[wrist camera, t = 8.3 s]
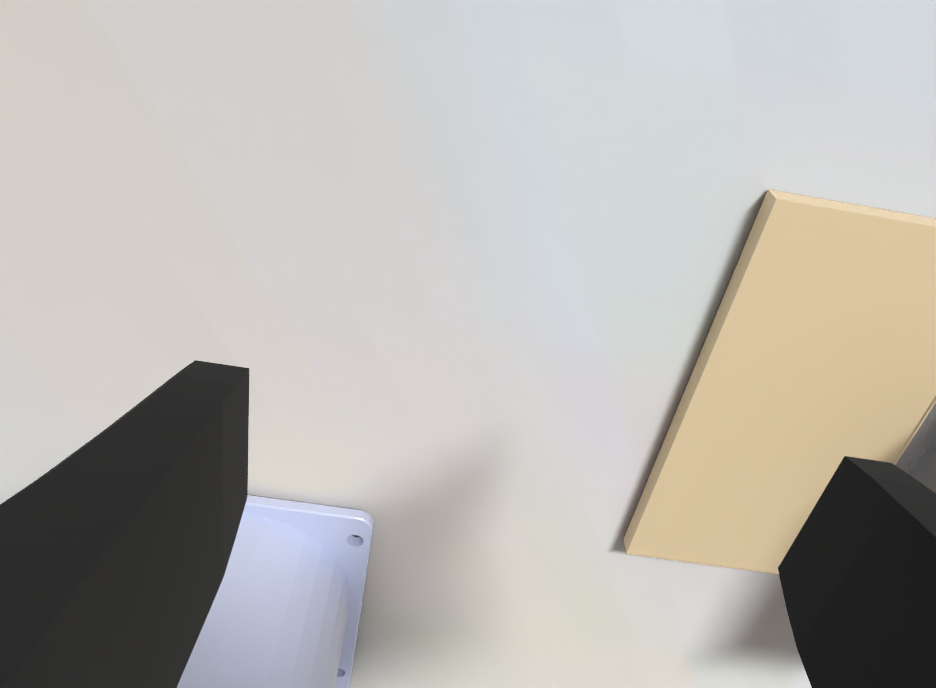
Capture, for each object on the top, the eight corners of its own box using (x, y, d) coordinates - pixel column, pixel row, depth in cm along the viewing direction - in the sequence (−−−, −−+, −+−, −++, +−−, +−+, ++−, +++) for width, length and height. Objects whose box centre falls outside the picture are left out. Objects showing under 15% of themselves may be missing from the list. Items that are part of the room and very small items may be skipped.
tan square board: (1023, 592, 25) (1035, 608, 24) (623, 539, 24) (626, 553, 23) (1298, 283, 18) (1322, 294, 18) (767, 189, 17) (776, 198, 17)
